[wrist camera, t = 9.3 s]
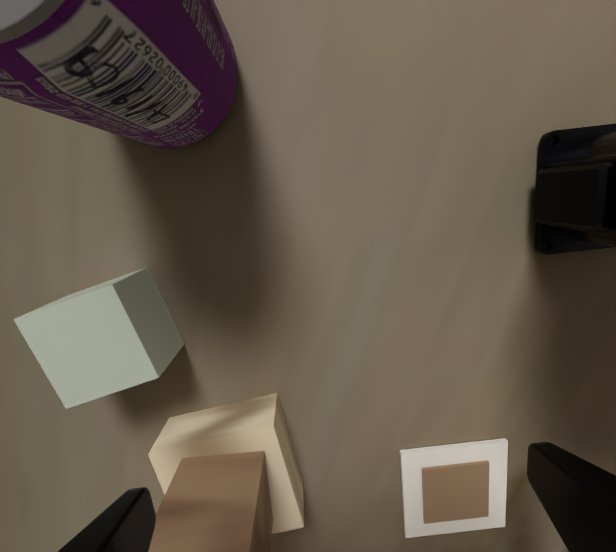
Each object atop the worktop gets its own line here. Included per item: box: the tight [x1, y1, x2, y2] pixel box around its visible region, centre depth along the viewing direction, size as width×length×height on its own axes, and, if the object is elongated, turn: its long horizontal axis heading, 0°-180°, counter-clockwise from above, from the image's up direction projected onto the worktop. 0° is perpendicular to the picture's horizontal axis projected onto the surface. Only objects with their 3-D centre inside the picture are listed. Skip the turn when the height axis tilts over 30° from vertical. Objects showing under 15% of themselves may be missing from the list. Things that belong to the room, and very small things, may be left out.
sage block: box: [13, 267, 184, 409], centre depth 18 cm, size 5×5×4 cm
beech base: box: [148, 393, 304, 534], centre depth 21 cm, size 7×7×4 cm
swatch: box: [400, 438, 508, 538], centre depth 23 cm, size 7×7×1 cm
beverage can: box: [0, 0, 237, 148], centre depth 11 cm, size 7×7×12 cm
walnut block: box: [148, 451, 273, 552], centre depth 16 cm, size 4×4×6 cm
